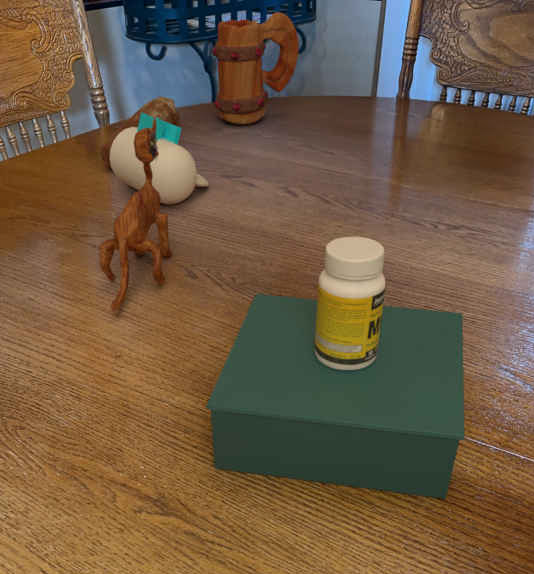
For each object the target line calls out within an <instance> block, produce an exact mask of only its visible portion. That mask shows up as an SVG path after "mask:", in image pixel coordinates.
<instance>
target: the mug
mask: <svg viewBox="0 0 534 574" xmlns="http://www.w3.org/2000/svg"><path fill="white" fill-rule="evenodd" d="M268 39H269V40H270V41H272V42H273V43H275V44H276V45H278V46H279V52H278V59H277V62H276V63H275V66H274V67H273V68H272V69H271V70H269V71H267V70H263V60H262V57H263V56H264V55H265V50H266V44H265V43H264V41H265V40H268ZM299 44H300V43H299V36H298V32H297V30H296V28H295V25H294V23H293V21H292V20H291V19H290V18H289V16H288V15H286V13H285V14H284V13H283V12H280V11H279V12H278V11H276V12H274V13H272V14H271V15H270V16H269V17H268V18H267V19H266V20H265V22H263V23H259V22H258V21H256V20H251V21H250V19H239V20H238V21H237V20H235V19H229V20H225V21H220V22H219V23H218V24H217V41H216V42H215V44H214V48H213V49H212V50H211V51H212V53H211V54H212V55H213V56H214V57H215V58H216V59H217V73H218V74H217V75H218V93H217V94H216V97H215V98H216V99H215V100H214V102H213V107H215V108H216V109H217V110H219V117H220V118H221V120H224V121H226V122H228V123H230V124H232V125H236V126H237V125H239V126H242V125H243V126H245V125H250V124H253V123H256V122H258V121H260V120H261V118H263V117H264V116H265V114H266V105H267V99H268V98H269V93H268V91H267V90H265V89H264V84H265V85H267V87H269V88H271V89H272V90H273V91H275V92H276V93H281V92H282V91H283V90H284V89H285V88H286V87H287V85H288V84H289V82H290V81H291V79H292V77H293V75H294V74H295V70H296V67H297V63H298V58H299V49H300V48H299V47H300V45H299Z"/></svg>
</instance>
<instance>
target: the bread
mask: <svg viewBox="0 0 534 574" xmlns="http://www.w3.org/2000/svg"><path fill="white" fill-rule="evenodd" d="M141 112H142V113H145V114H147V115H149V116H151V117H154V118H160V119H161V120H162V121H165V122H167V123H170V124H172V125H175V126H177V127H180V115H179V112H178V110H177V108H176V102H175V101H174V99H172V98H169V97H165V96H157V97H156V98H153V99H151V100H150V101H148V102H146V103H145V104H143V105H142V106H141V107H140V108H139V109H138V110H137V111H135V113H134V114H132V115H131V116H130V117H129V118H128V119H127V120H126V121H125V122H123V124H122V125H121V126H120V127H119V128H118V129H117V130H115V132H114V133H113V134H112V135H111V136H110V137H109V138H108V139H107V140H106V142H105V143H104V144H103V145H102V146H101V149H100V158H101V159H102V161H103V163H104V164H105V165H106V166H107V167H108V168H111V163H110V149H111V147H112V144H113V141H114V140H115V138H116V137H117V135H118V134H119V133H121V132H122V131H123V130H125V129H127V128H131V127H138V124H139V120H140V116H141Z"/></svg>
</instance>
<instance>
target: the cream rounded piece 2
mask: <svg viewBox="0 0 534 574" xmlns="http://www.w3.org/2000/svg"><path fill="white" fill-rule="evenodd" d="M153 119H154V117H151V116H149V115H147V114H145V113H142V112H141V116H140V120H139V124H138V127H131V128H127V129H125V130H123V131H122V132H121V133H119V134H118V135H117V137H116V138H115V140H114V141H113V144H112V147H111V149H110V163H111V167H110V168H111V170H112V172H113V174H114V175H115V176H116V178H117V179H119V181H120V182H122V183H124V184H125V185H128V186H130V187H132V188H133V189H135V190H137V191H139V190H140V189H141V188H142V187H143V186H144V184H145V181H146V176H145V172H144V168H143V166H144V164H143V162H141V161H139V160H138V158H137V157H136V155H135V148H134V138H135V134H136V133H137V132H138V131H139V130H141V129H144V128H147V127H148V128H152V126H153ZM155 119H156V139H157V142H156V145H157V151H158V153H159V154H158V159H157V161H156V160H153V162H151V163H150V167H151V170H152V174H153V177H152V186H153V187H154V188H155V189H156V190H157V191H158V192H159V194H160V198H161V200H160V204H161V203H162V204H164V205H176V204H179V203H181V202H183V201H185V200H186V199H187V198H188V197H190V196H191V194H192V193H193V191H194V189H195V187H196V188H207V187H208V186H209V182H208V180H207V179H206V178H205V177H203V176H202V175H200V174H199V173H198V170H197V169H198V168H197V165H196V162H195V159H194V158H193V156H192V155H191V153H190V152H189V151H188V150H187V149H185V148H184V147H183V146H182V145H179V140H180V136H181V134H182V127H180V126H178V127H177V126H175V125H172V124H170V123H167V122H165V121H162V120H161V119H160V118H155Z"/></svg>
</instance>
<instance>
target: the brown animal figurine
mask: <svg viewBox="0 0 534 574" xmlns="http://www.w3.org/2000/svg"><path fill="white" fill-rule="evenodd" d="M156 142H157V139H156V119H155V118H154V119H153V126H152V128H148V127H147V128H144V129H141V130H139V131H138V132H137V133H136V134H135V138H134V148H135V155H136V157H137V158H138V160H139V161H141V162H143V164H144V166H143V168H144V172H145V176H146V181H145V184H144V186H143V187H142V188H141V189H140V190H137V191H136V192H133V194H132V195H131V196H130V198H129V199H128V201H127V203H126V205H124V208H123V209H122V211H121V212H120V213H119V215H118V216H117V217H116V218H115V219H114V221H113V226H112V230H113V238H109V239H106V240H104V241H102V242H101V243H100V245H99V247H98V254H99V266H100V269H101V270H102V272H103V274H104V275H105V276H106V278H107V280H109V281H110V282H111V283H113V282H114V281H115V279H116V274H115V273H113V271H112V268H111V262H112V259H113V257H114V253H115V251H119V261H120V283H119V286H118V287H119V289H118V291H117V294H116V296H115V298H114V300H113V302H112V304H111V306H110V311H111V312H118V310H119V309H120V307H121V306H122V305H123V303H124V301H125V299H126V296H127V294H128V289H129V282H130V281H129V280H130V258H129V252H131V253H134V255H136V256H139V257H142V256H144V255H145V254H146V253H147V252H148V253H151V254H152V255H151V256H152V276H153V278H154V280H155V281H156V284H157V285H158V286H160V285H162V284H163V283H164V282H165V281H166V276H165V275H164V271H163V268H162V267H163V266H162V262H163V258H169V257H172V256H173V254H174V253H173V251H171V248H170V240H169V238H170V237H169V225H168V224H169V223H168V221H169V220H168V219H169V214H167V213H165V212H160V207H161V206H160V205H161V202H160V200H161V198H160V194H159V192H158V191H157V190H156V189H155V188H154V187H153V186H152V177H153V174H152V170H151V167H150V163H151V162H153V160H156V161H157V159H158V154H159V153H158V151H157V145H156ZM154 224H155V225H156V228H157V231H158V242H156V241H153V240H152V239H149V238H148V234H149V231H150V230H151V227H152V225H154Z"/></svg>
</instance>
